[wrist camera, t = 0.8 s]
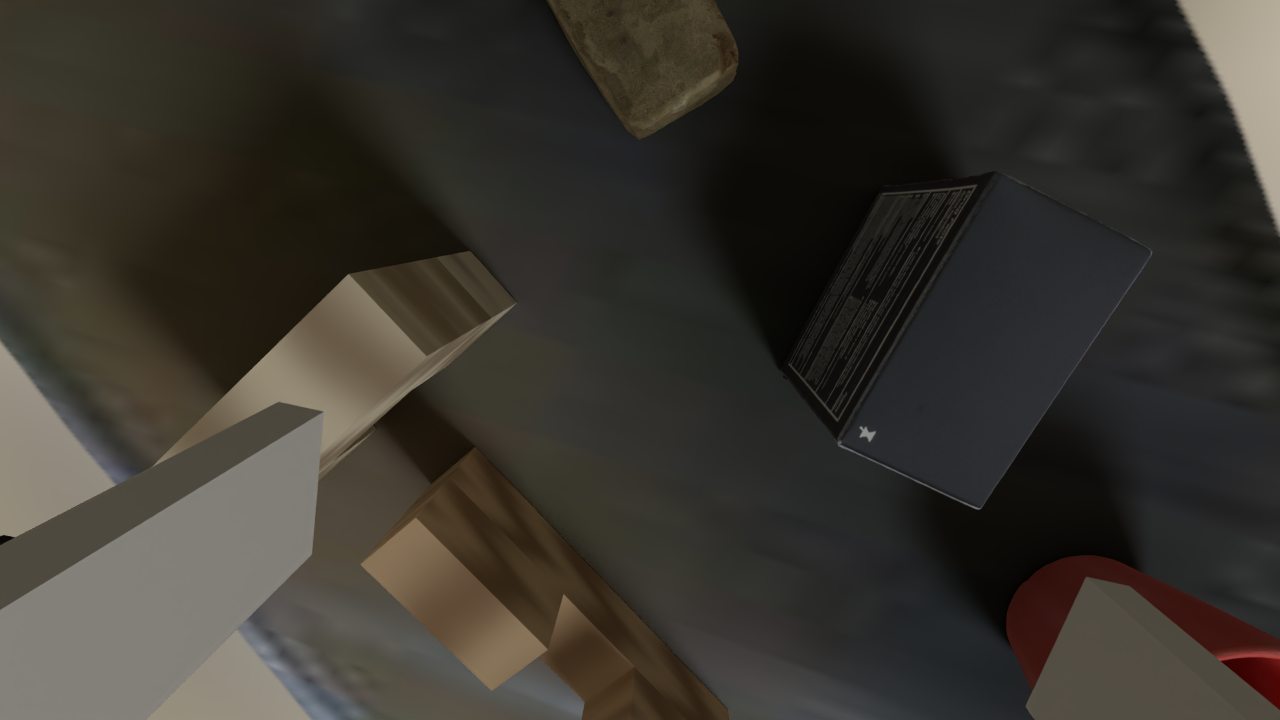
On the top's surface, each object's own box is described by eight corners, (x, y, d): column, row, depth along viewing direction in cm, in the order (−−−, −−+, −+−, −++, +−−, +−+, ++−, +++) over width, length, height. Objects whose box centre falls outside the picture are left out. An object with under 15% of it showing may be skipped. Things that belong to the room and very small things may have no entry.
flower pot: (1218, 567, 33) (1438, 710, 24) (1107, 721, 36) (1264, 904, 26) (1042, 497, 32) (1194, 614, 23) (942, 657, 35) (1042, 821, 26)
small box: (885, 424, 32) (986, 523, 22) (775, 372, 32) (825, 448, 21) (998, 239, 30) (1171, 253, 19) (880, 180, 29) (992, 162, 19)
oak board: (431, 484, 34) (360, 564, 26) (475, 446, 33) (416, 517, 26) (683, 739, 37) (686, 878, 29) (728, 710, 37) (743, 844, 29)
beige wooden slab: (314, 485, 34) (132, 624, 23) (268, 440, 34) (57, 559, 22) (516, 302, 31) (426, 356, 20) (470, 250, 31) (348, 273, 19)
